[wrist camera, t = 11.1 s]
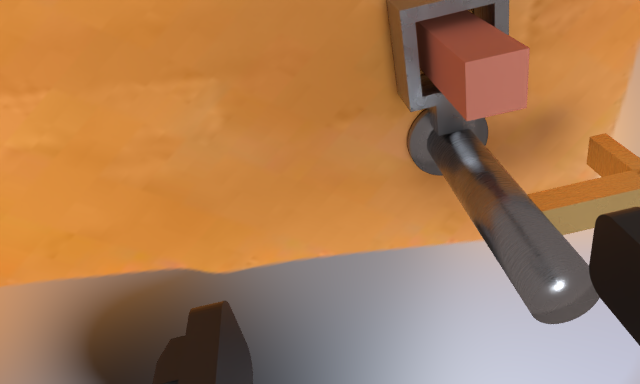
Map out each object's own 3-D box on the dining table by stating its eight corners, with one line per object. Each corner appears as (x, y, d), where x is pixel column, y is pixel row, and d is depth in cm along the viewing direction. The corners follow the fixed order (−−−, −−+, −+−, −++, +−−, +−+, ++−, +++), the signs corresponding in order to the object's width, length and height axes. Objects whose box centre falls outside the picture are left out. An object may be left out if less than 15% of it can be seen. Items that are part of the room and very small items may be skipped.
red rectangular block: (413, 18, 37) (465, 62, 28) (462, 7, 37) (529, 48, 28) (417, 65, 39) (466, 121, 30) (463, 55, 39) (526, 107, 30)
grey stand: (386, -1, 36) (497, 98, 19) (567, -45, 36) (838, 18, 19) (408, 179, 45) (497, 354, 28) (553, 145, 45) (730, 301, 28)
